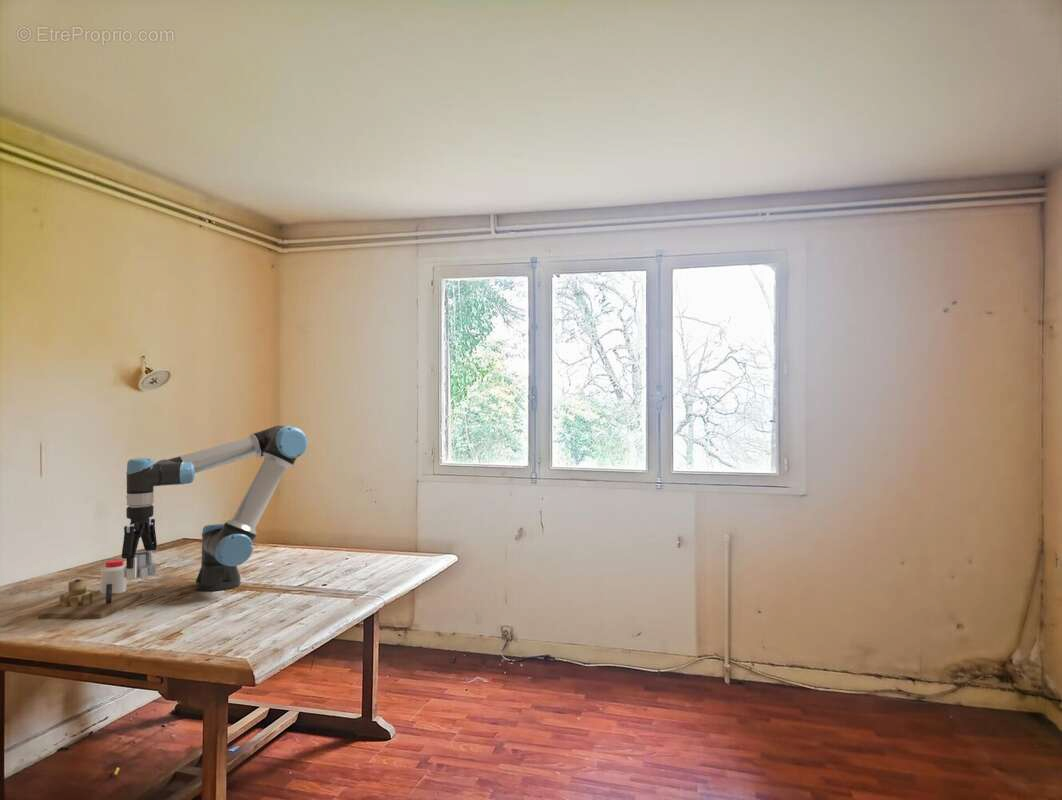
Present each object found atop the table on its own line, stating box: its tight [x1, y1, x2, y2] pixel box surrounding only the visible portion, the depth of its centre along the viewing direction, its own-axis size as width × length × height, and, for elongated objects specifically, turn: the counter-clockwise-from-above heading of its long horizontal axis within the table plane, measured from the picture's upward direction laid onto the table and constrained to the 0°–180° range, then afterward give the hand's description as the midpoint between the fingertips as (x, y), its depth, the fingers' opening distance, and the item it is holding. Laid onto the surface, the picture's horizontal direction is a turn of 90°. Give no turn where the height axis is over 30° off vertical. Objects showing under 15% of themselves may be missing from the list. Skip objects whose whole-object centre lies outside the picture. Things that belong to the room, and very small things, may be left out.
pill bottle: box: [99, 558, 128, 593], centre depth 220 cm, size 8×8×11 cm
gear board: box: [37, 578, 143, 619], centre depth 202 cm, size 19×22×9 cm
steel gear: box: [124, 551, 157, 580], centre depth 202 cm, size 9×9×7 cm
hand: (139, 574), depth 202 cm, fingers closed on steel gear, 9 cm apart
